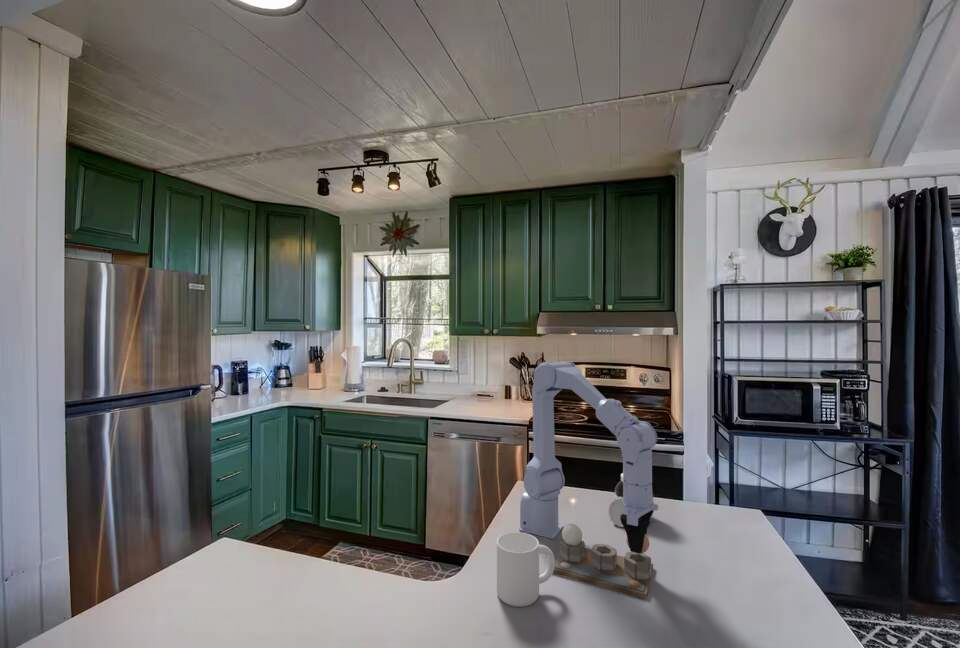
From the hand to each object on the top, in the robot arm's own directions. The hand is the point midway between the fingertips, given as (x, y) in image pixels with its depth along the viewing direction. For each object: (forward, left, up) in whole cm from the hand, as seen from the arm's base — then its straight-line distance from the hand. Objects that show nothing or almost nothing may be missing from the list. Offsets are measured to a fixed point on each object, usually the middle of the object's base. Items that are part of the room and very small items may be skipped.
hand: (637, 546), depth 90 cm
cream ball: (-14, 0, -1) cm, 14 cm away
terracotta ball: (0, 0, +1) cm, 1 cm away
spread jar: (-6, +27, -7) cm, 28 cm away
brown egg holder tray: (-7, -1, -6) cm, 10 cm away
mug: (-19, -16, -7) cm, 25 cm away
